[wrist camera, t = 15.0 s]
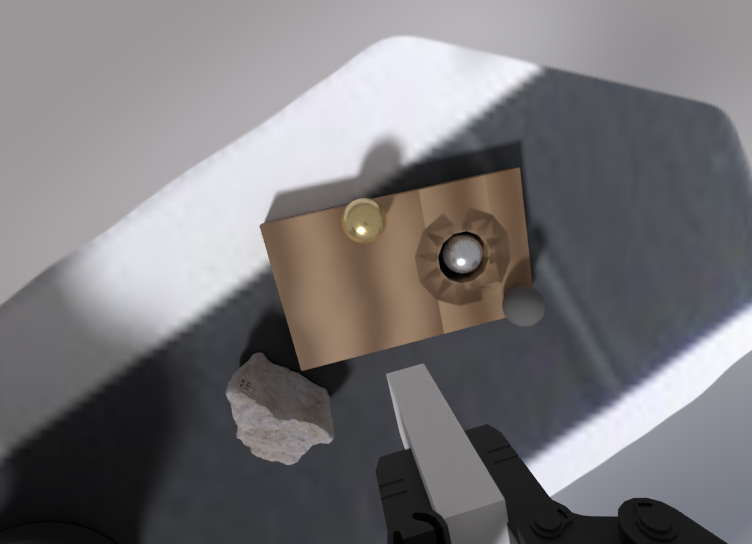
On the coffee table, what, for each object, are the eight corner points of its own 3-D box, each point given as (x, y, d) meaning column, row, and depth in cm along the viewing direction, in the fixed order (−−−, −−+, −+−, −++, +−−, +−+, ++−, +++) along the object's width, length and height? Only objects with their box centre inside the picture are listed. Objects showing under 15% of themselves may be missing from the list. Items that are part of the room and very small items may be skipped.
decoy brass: (345, 244, 31) (348, 251, 27) (335, 202, 30) (337, 204, 27) (386, 235, 31) (394, 241, 28) (378, 193, 30) (385, 193, 27)
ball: (445, 280, 32) (486, 273, 31) (437, 241, 32) (479, 233, 31) (447, 271, 36) (485, 264, 35) (440, 235, 35) (478, 227, 34)
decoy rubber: (497, 322, 34) (517, 336, 31) (492, 286, 34) (512, 297, 30) (533, 313, 35) (556, 326, 31) (529, 277, 34) (552, 287, 31)
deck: (302, 358, 35) (301, 371, 33) (264, 222, 32) (259, 225, 30) (521, 301, 37) (535, 309, 35) (505, 168, 34) (519, 167, 32)
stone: (206, 393, 35) (184, 433, 29) (269, 334, 34) (259, 363, 29) (284, 454, 37) (277, 501, 32) (343, 400, 37) (347, 438, 31)
